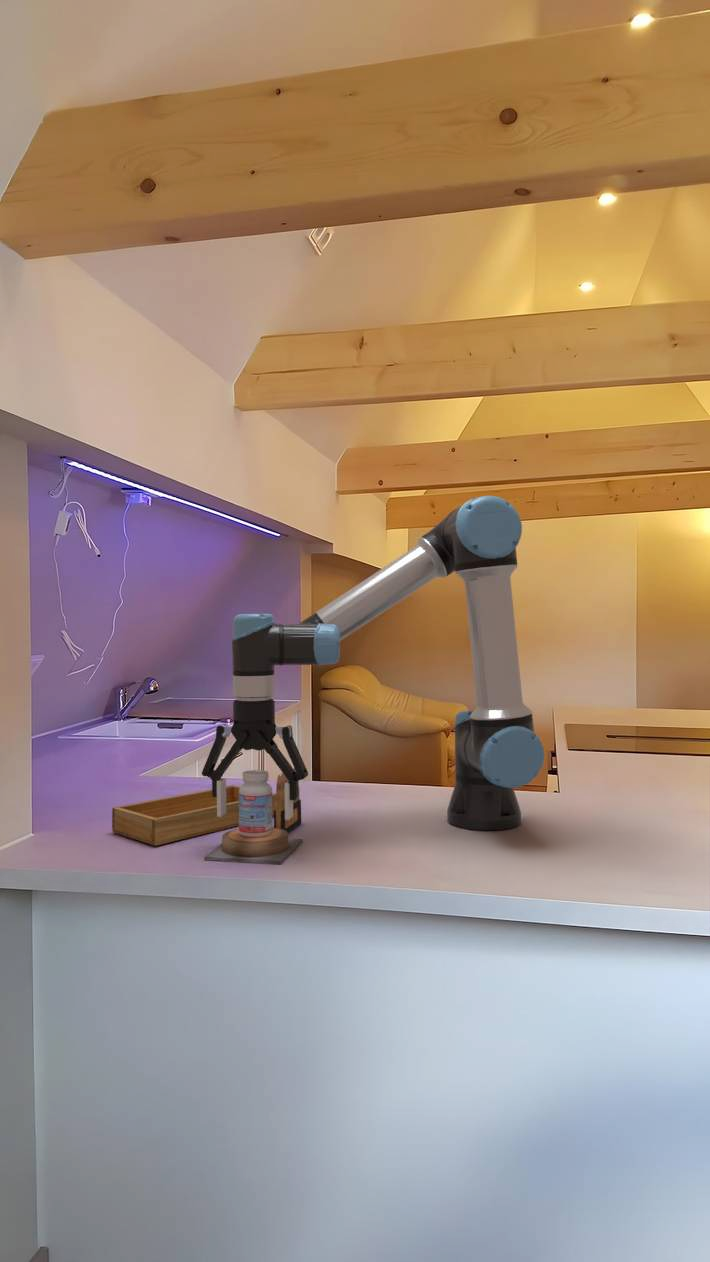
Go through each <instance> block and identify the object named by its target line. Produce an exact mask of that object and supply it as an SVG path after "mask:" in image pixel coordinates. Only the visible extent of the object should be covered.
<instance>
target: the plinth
mask: <svg viewBox="0 0 710 1262" xmlns="http://www.w3.org/2000/svg"><path fill="white" fill-rule="evenodd" d="M303 842H304V839H303V838H301V837H300V838H297V837H295V838H294V837H289V833H288V832H287V831H285V830H283V829H279V828H274V826H272V832H271V833H270V834H269V835H267V836H263V837H245V836H242V835H241V834H240V833H239V828H235V829H232V830H229V831H227V832H225V833H223V834H222V836H221V844H219V845H218V846H217V847H215V848H214V849H213V850H211V851H209V852H208V853H207V854H206V855H205V856H203V859H205V860H204V861H211V860H224V861H223V862H229V861H238V862H237V863H246V862H250V864H264V863H266V864H265V865H282V864H283V863H284V862H285V861H286V860H287V859H289V857H290V856H291V855H292V854H293V852H294V851H296V849H298V847H299V846H300V845H302V844H303Z"/></svg>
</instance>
